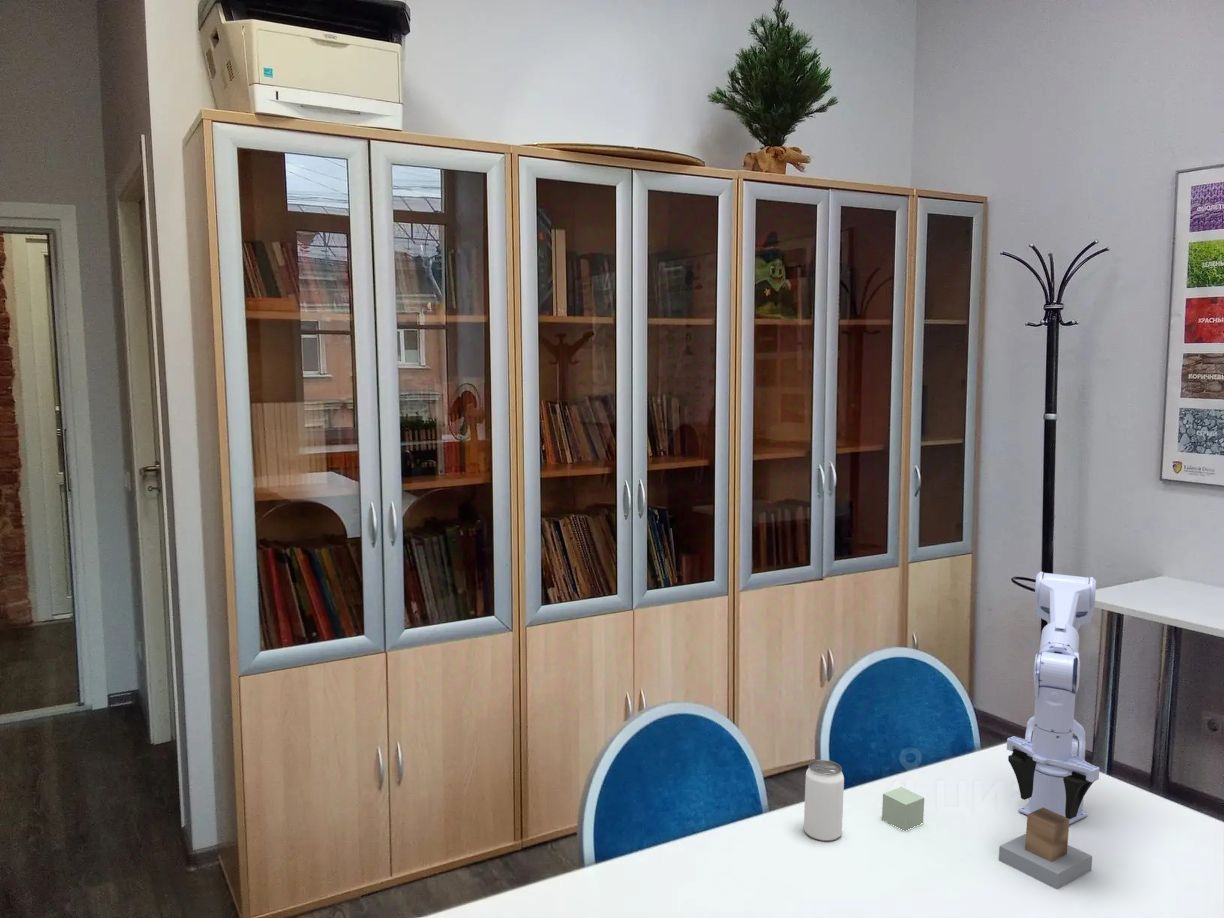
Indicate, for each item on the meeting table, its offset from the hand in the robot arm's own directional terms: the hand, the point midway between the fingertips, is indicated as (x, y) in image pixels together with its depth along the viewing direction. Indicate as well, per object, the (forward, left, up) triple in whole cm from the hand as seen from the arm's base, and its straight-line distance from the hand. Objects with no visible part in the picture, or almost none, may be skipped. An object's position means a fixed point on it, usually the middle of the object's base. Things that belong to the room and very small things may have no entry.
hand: (1048, 807), depth 148 cm
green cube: (+8, -22, -10) cm, 25 cm away
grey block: (0, 0, -10) cm, 10 cm away
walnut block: (0, 0, -7) cm, 7 cm away
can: (+23, -27, -10) cm, 37 cm away
